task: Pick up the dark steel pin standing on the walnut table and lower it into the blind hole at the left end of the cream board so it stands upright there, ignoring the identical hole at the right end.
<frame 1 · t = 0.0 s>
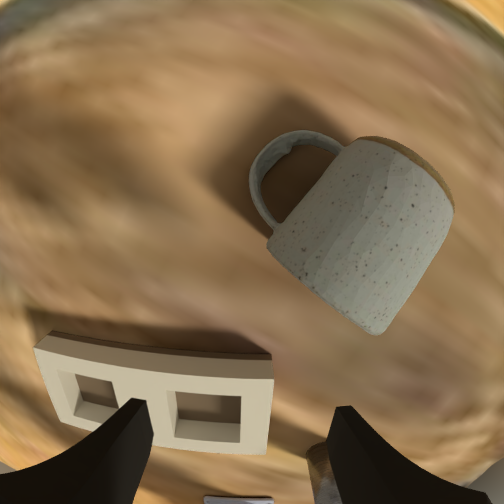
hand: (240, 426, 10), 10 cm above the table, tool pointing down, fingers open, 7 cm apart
ceramic mug: (326, 212, 19), on the table
board: (153, 387, 21), on the table
pin: (323, 452, 23), on the table
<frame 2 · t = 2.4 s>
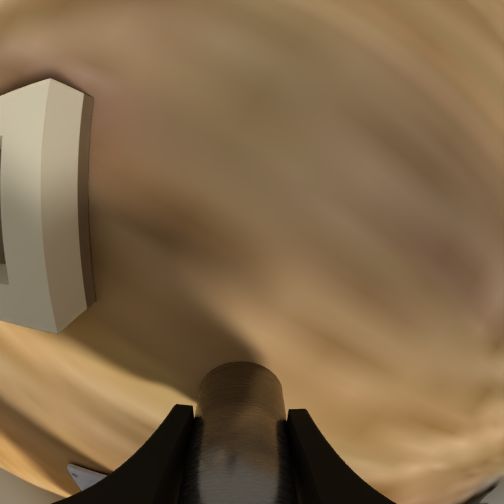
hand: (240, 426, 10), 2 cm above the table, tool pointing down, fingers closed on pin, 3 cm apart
pin: (241, 394, 12), on the table, touching gripper
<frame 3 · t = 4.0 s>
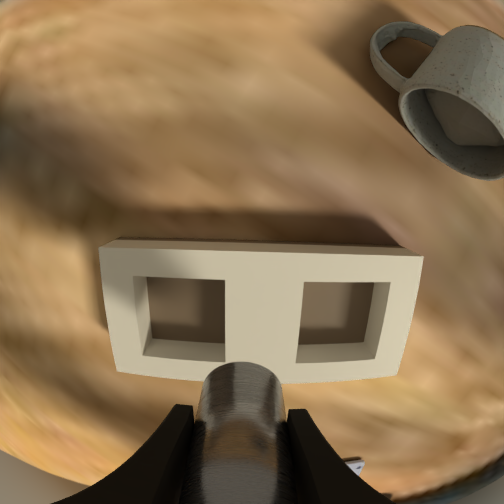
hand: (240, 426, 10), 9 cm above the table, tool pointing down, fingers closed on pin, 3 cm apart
ceramic mug: (426, 95, 16), on the table
board: (260, 303, 19), on the table
pin: (242, 393, 12), point 7 cm above the table, touching gripper
when the fingers open (4 cm above the table, at t = 5.7 s): pin stays where it is, resting on board.
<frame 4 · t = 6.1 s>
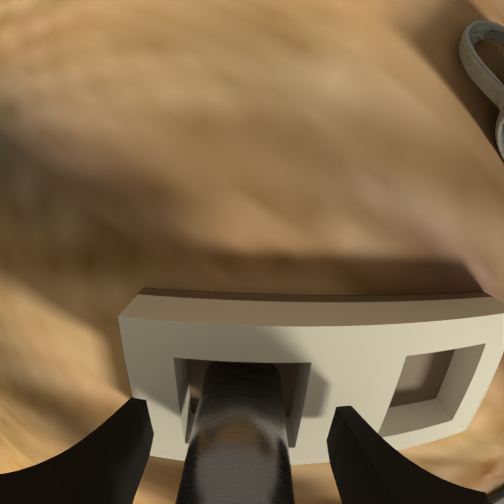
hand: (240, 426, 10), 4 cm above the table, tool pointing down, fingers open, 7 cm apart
board: (333, 369, 14), on the table
pin: (242, 382, 13), point 1 cm above the table, touching board
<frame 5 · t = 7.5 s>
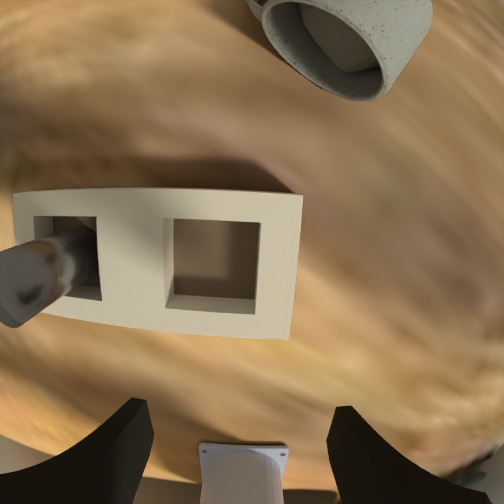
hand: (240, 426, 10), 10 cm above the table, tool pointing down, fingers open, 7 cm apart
ceramic mug: (319, 33, 15), on the table
board: (146, 250, 18), on the table
pin: (82, 251, 18), point 1 cm above the table, touching board
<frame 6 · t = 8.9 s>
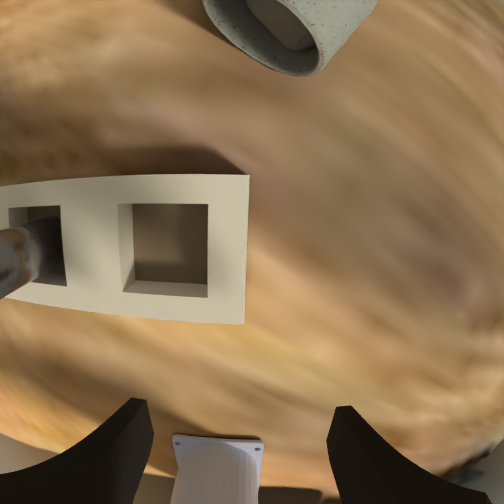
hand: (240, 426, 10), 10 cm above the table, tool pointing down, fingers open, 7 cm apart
ceramic mug: (272, 17, 15), on the table
board: (110, 238, 18), on the table
pin: (53, 241, 17), point 1 cm above the table, touching board
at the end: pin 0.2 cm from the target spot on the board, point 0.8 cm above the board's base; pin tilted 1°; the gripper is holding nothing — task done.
